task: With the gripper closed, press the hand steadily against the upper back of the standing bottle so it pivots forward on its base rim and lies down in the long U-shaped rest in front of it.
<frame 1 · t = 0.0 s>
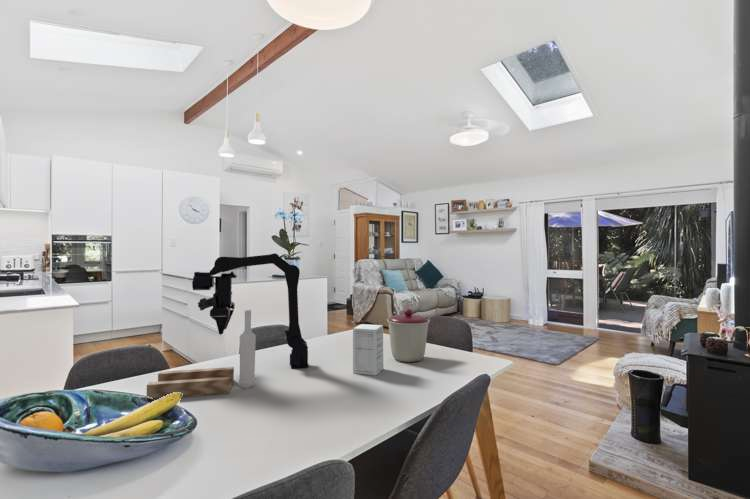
hand: (222, 331, 139), 15 cm above the table, tool pointing down, fingers open, 9 cm apart
supplement box: (368, 371, 141), on the table
bottle: (247, 385, 124), on the table
u rest: (193, 389, 120), on the table
canister: (408, 359, 157), on the table
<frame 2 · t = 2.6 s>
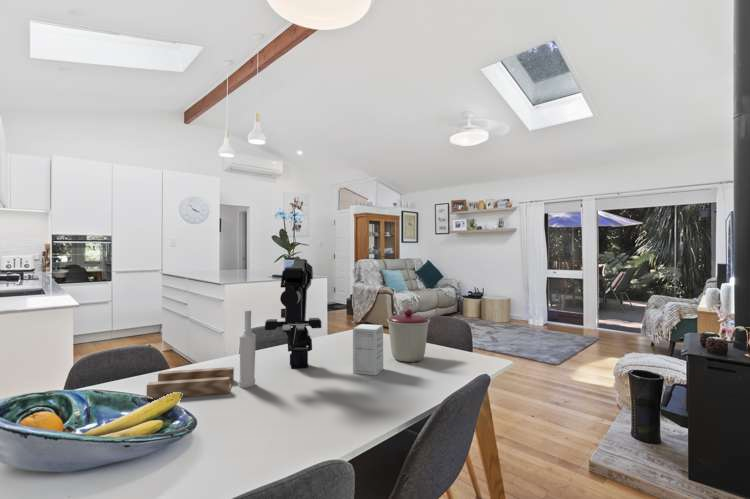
hand: (293, 348, 128), 11 cm above the table, tool pointing down, fingers closed
nothing on the table moved.
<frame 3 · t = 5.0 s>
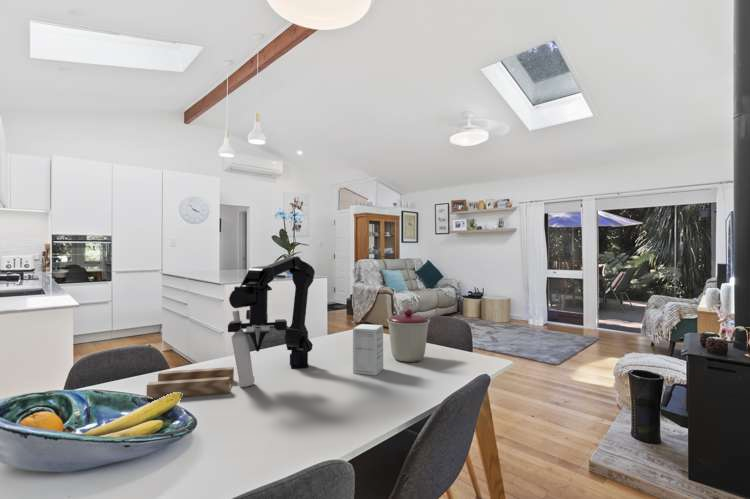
hand: (257, 351, 125), 11 cm above the table, tool pointing down, fingers closed
bottle: (247, 384, 124), on the table, touching gripper
everything else where it was.
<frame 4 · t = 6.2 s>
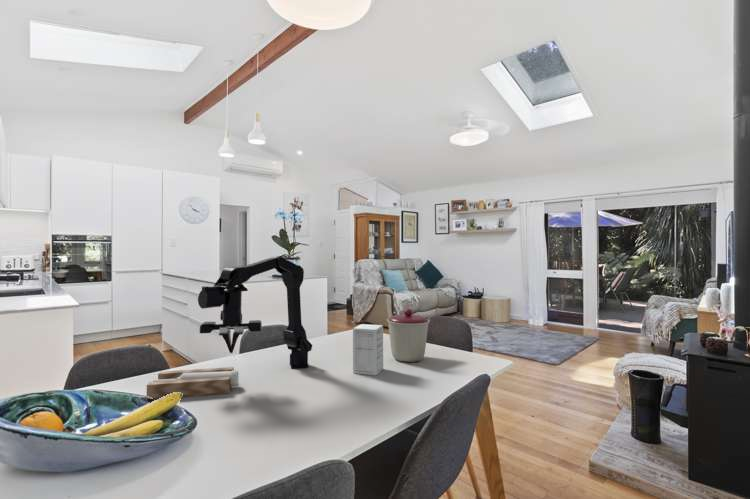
hand: (231, 352, 123), 11 cm above the table, tool pointing down, fingers closed
bottle: (238, 378, 122), point 3 cm above the table, touching u rest
everything else where it was.
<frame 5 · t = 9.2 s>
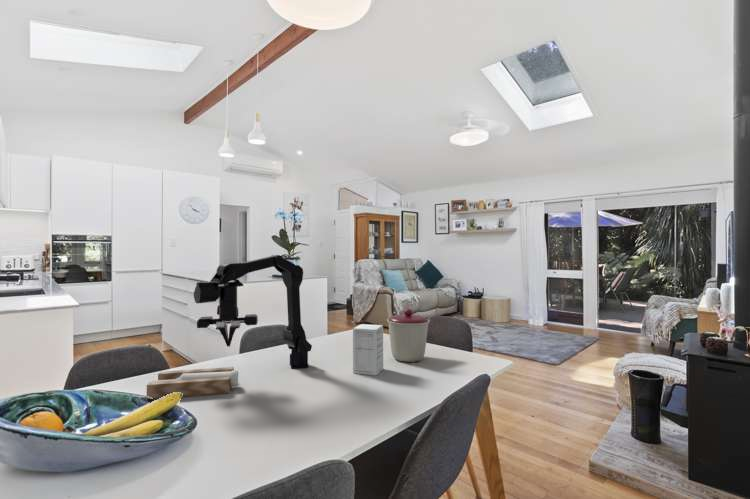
hand: (228, 346, 126), 12 cm above the table, tool pointing down, fingers closed
nothing on the table moved.
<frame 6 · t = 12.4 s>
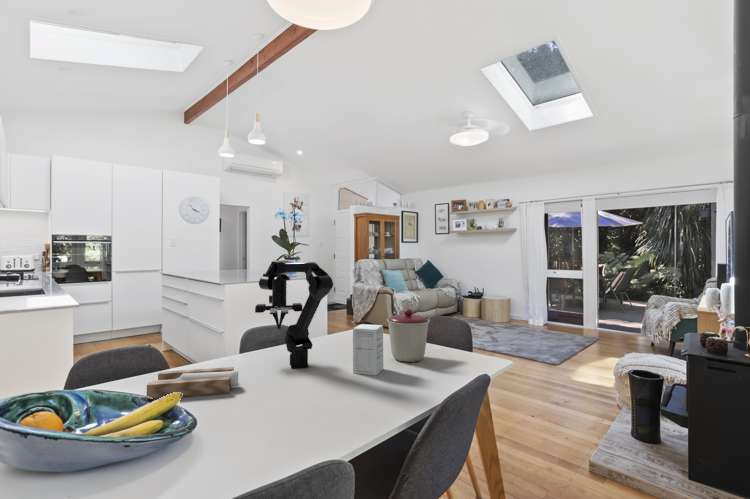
hand: (279, 328, 154), 13 cm above the table, tool pointing down, fingers closed
nothing on the table moved.
at the end: bottle tilted 90°; bottle touching u rest; bottle inside the target area on the u rest (2.3 cm from its centre), point 3.0 cm above the u rest's base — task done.
